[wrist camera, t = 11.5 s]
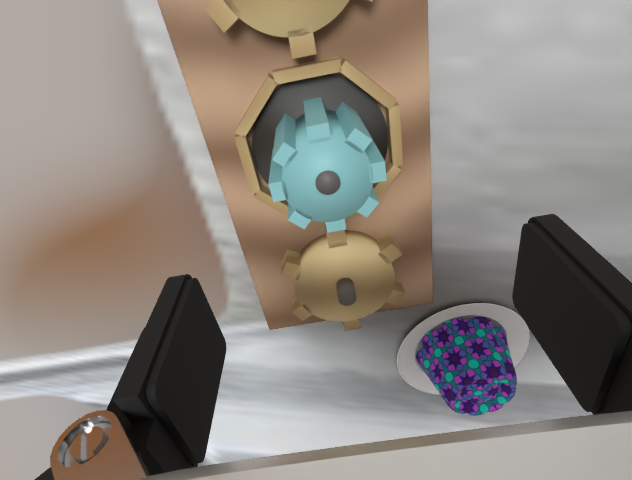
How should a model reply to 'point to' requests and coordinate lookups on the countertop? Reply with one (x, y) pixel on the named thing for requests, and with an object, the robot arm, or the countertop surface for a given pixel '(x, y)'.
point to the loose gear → (325, 166)
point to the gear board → (287, 98)
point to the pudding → (466, 357)
